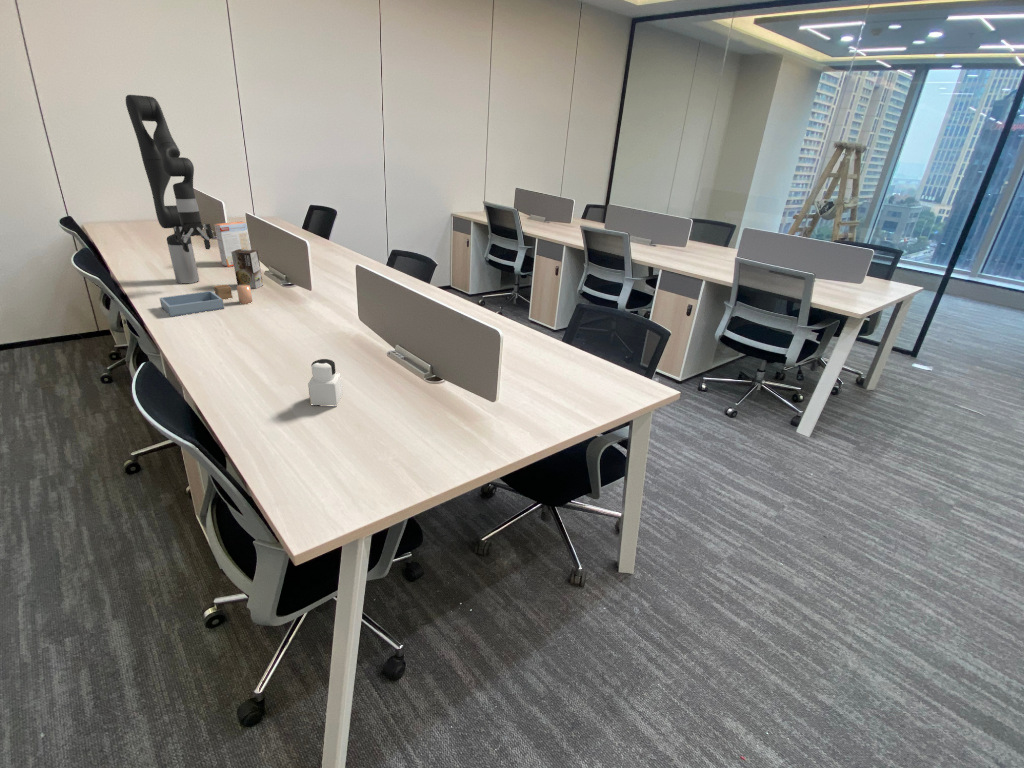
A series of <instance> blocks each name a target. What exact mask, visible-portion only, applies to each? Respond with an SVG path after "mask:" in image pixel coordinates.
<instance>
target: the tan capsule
mask: <svg viewBox="0 0 1024 768" xmlns="http://www.w3.org/2000/svg"><path fill="white" fill-rule="evenodd" d="M251 290H252V288H250V285H236V292H237V297H238V303H239V304H240V303H241V304H240V305H249V304H248V303H251V302H252V301H253V295H252V291H251ZM251 304H252V303H251Z"/></svg>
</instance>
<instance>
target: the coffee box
mask: <svg viewBox="0 0 1024 768" xmlns="http://www.w3.org/2000/svg"><path fill="white" fill-rule="evenodd" d="M231 253H232V258H233V264H234V266H233V269H234V273H235V279H236V283H237V285H236V286H238V285H250V287H251V288H250V289H258V288H260V287H263V286H264V283H263V276H262V269H261V264H260V256H259V251H258V250H257V249H256V250H253V249H251V250H245V249H238V250H235V251H233V252H231ZM262 285H263V286H262ZM257 287H258V288H257Z"/></svg>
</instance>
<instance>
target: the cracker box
mask: <svg viewBox="0 0 1024 768" xmlns="http://www.w3.org/2000/svg"><path fill="white" fill-rule="evenodd" d="M213 225H214V230H215V235H216V236H215V237H216V240H217V244H218V245H217V246H218V250H219V255H220V261H221V265H222V266H225V267H228V268H231V267H234V264H233V258H232V253H231V252H233V251H235V250H238V249H245V250H252V247H251V242H250V236H249V229H248V224H247V222H243V221H234V222H221V223H215V224H213Z"/></svg>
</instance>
